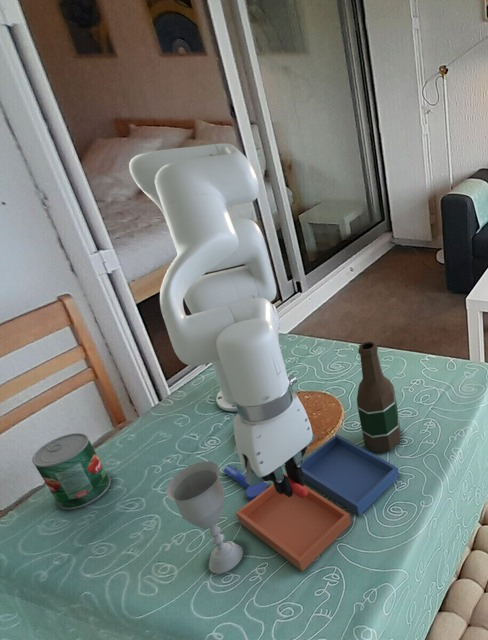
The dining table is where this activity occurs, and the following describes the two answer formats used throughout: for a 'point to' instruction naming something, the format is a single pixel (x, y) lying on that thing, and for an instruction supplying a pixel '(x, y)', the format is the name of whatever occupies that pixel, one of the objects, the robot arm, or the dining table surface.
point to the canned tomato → (72, 470)
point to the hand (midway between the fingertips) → (291, 487)
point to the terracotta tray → (294, 523)
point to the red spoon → (298, 489)
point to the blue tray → (348, 473)
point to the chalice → (205, 509)
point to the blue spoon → (240, 478)
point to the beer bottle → (376, 403)
